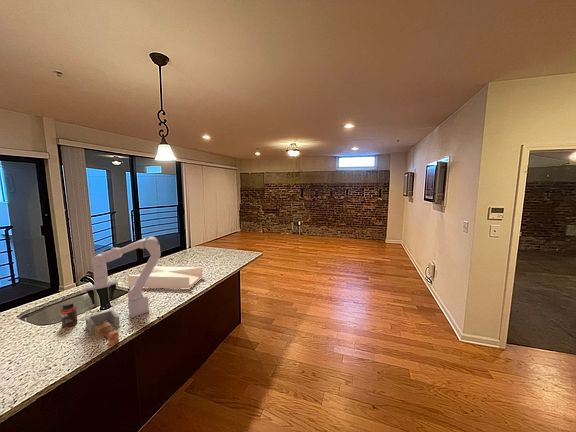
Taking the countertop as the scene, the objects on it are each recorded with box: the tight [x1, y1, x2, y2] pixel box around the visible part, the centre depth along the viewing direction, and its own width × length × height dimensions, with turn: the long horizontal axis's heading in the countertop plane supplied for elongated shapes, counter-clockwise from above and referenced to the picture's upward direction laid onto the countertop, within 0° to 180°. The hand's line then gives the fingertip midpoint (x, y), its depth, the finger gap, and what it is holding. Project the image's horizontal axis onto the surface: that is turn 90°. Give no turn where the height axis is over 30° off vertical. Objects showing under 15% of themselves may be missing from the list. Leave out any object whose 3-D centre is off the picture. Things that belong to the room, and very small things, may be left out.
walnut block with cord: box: [94, 321, 120, 346], centre depth 115 cm, size 5×16×5 cm, turn 56°
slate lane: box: [85, 308, 120, 336], centre depth 125 cm, size 12×12×5 cm
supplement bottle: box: [60, 301, 78, 328], centre depth 126 cm, size 6×6×11 cm
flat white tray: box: [127, 265, 203, 289], centre depth 184 cm, size 45×22×10 cm, turn 87°
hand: (102, 301), depth 131 cm, fingers open, 7 cm apart
